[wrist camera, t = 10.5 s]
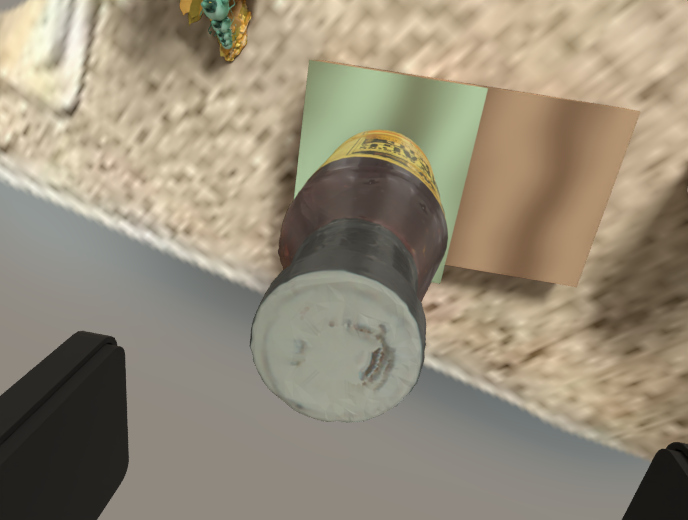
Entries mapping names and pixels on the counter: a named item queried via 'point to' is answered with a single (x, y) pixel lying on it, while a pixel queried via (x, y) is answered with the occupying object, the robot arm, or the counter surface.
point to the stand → (484, 161)
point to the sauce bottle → (353, 282)
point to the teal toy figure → (222, 22)
